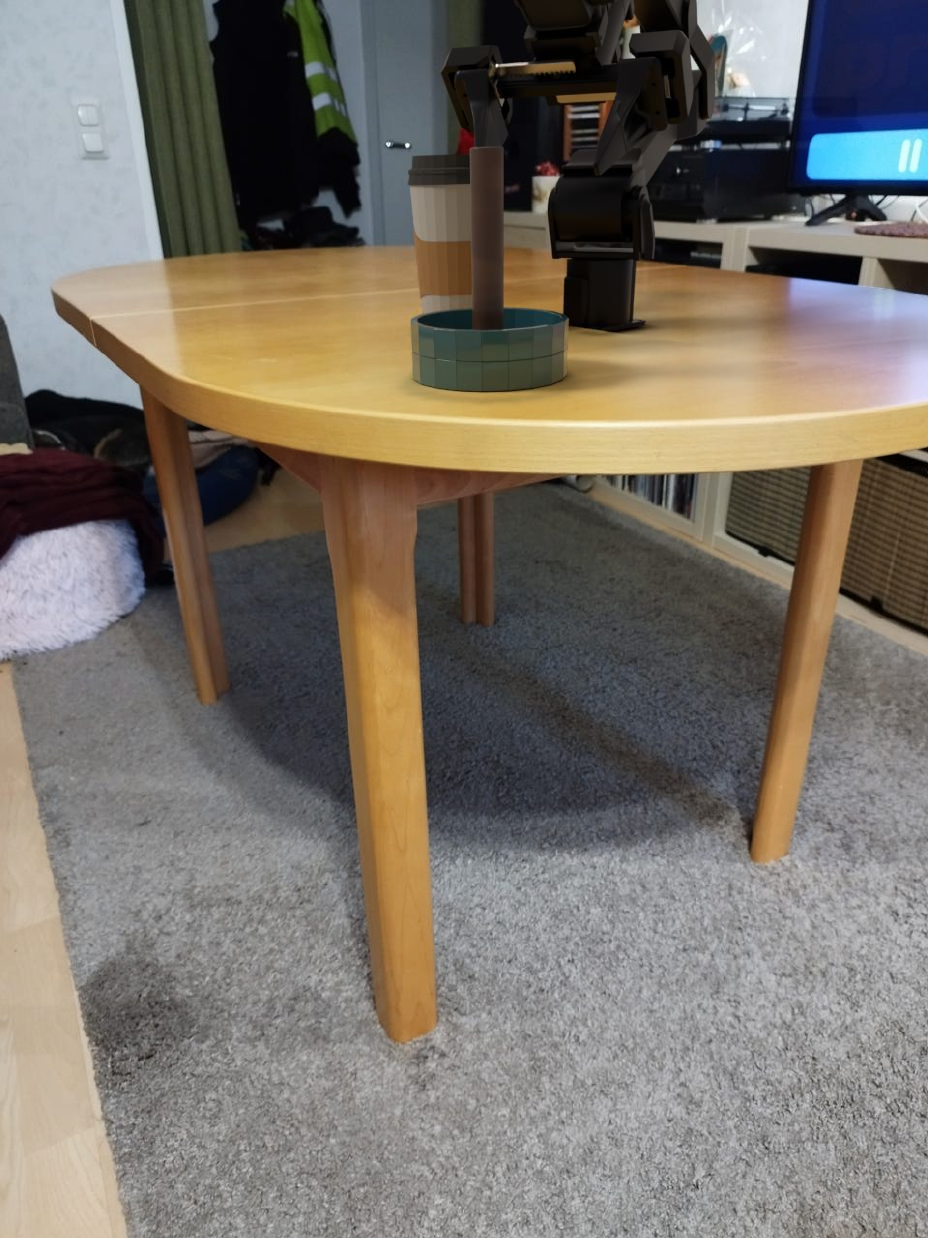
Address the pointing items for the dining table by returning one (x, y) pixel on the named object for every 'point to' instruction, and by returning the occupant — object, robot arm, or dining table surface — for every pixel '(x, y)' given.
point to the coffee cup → (442, 230)
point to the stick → (487, 237)
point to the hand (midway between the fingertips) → (536, 171)
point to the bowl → (489, 350)
